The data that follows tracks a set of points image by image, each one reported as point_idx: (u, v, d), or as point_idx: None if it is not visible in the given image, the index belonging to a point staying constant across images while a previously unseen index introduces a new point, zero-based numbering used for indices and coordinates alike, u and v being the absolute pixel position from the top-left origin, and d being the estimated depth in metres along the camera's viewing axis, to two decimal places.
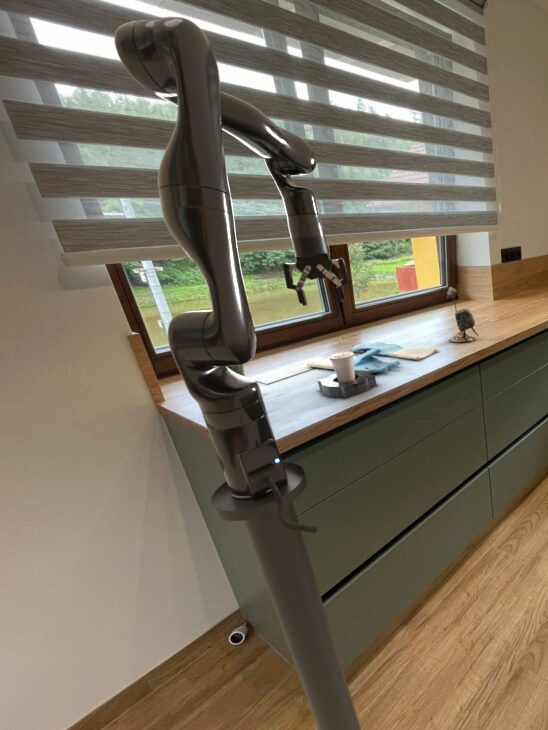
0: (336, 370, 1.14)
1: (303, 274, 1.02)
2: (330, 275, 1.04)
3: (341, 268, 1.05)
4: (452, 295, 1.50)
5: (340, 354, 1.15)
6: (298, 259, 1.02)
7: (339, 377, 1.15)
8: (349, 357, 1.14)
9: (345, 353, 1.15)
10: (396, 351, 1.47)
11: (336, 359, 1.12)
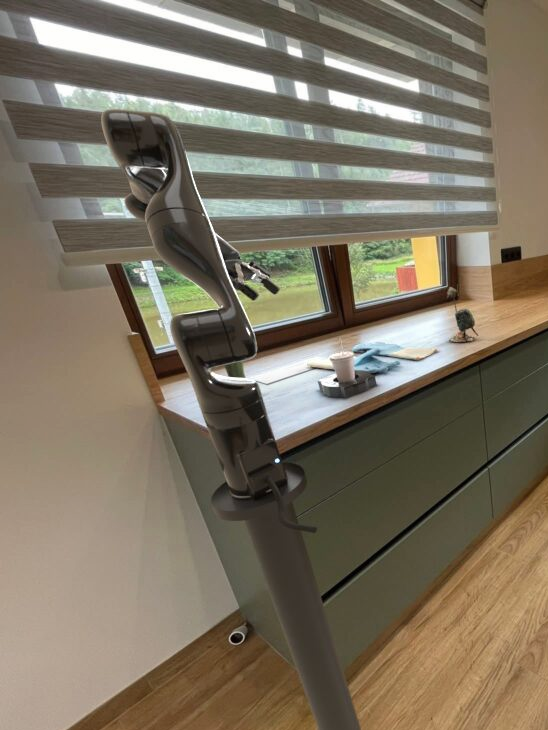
0: (336, 370, 1.14)
1: (237, 270, 1.04)
2: (256, 270, 1.10)
3: (258, 266, 1.12)
4: (452, 295, 1.50)
5: (340, 354, 1.15)
6: None
7: (339, 377, 1.15)
8: (349, 357, 1.14)
9: (345, 353, 1.15)
10: (396, 351, 1.47)
11: (336, 359, 1.12)
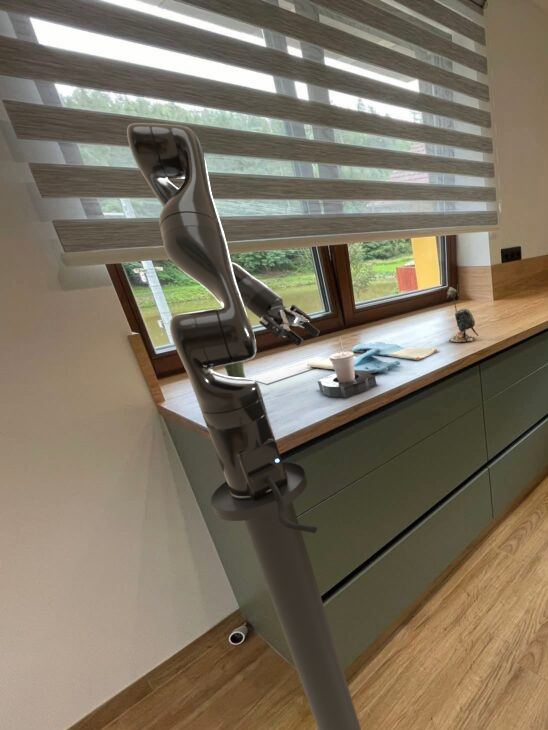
0: (336, 370, 1.14)
1: (283, 317, 1.09)
2: (298, 314, 1.15)
3: (298, 310, 1.18)
4: (452, 295, 1.50)
5: (340, 354, 1.15)
6: (269, 310, 1.09)
7: (339, 377, 1.15)
8: (349, 357, 1.14)
9: (345, 353, 1.15)
10: (396, 351, 1.47)
11: (336, 359, 1.12)
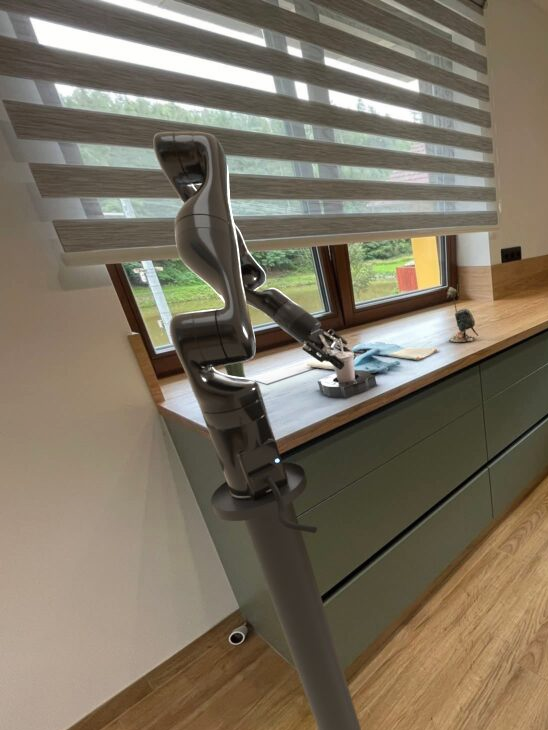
0: (336, 370, 1.14)
1: (322, 341, 1.11)
2: (336, 338, 1.16)
3: (336, 334, 1.19)
4: (452, 295, 1.50)
5: (340, 354, 1.15)
6: (309, 335, 1.10)
7: (339, 377, 1.15)
8: (349, 357, 1.14)
9: (345, 353, 1.15)
10: (396, 351, 1.47)
11: None
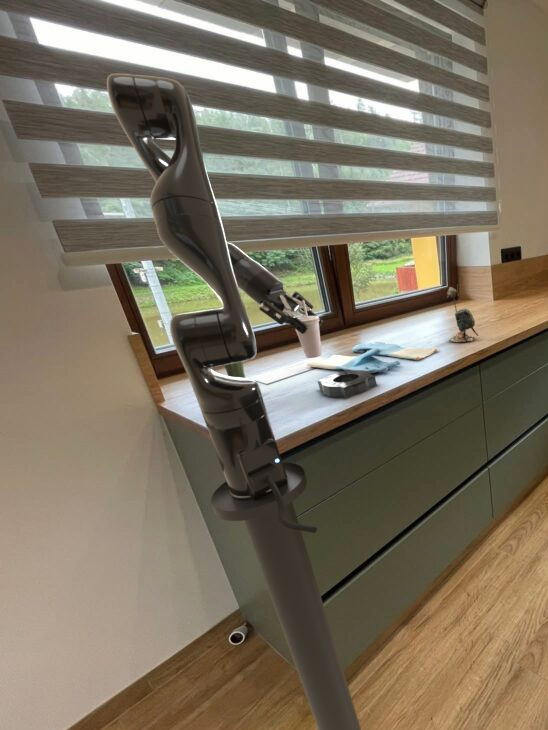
0: (299, 335, 1.04)
1: (283, 302, 1.01)
2: (299, 301, 1.06)
3: (301, 297, 1.09)
4: (452, 295, 1.50)
5: (304, 317, 1.05)
6: (268, 295, 1.00)
7: (302, 343, 1.05)
8: (313, 320, 1.04)
9: (309, 317, 1.05)
10: (396, 351, 1.47)
11: None
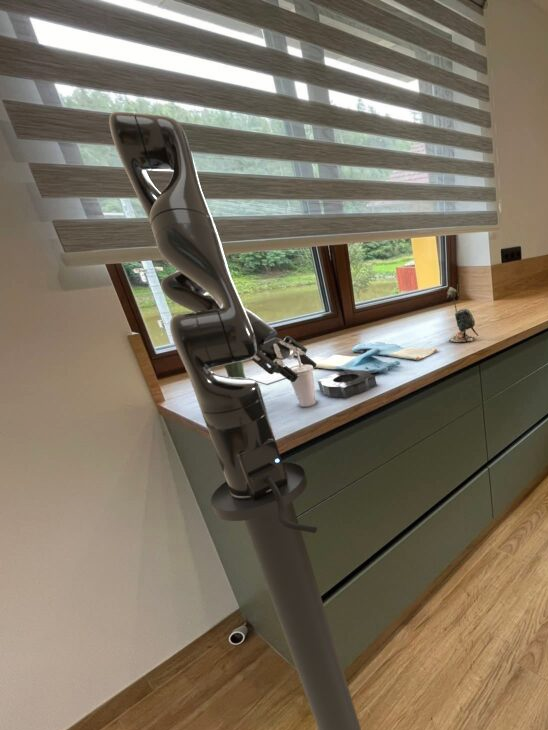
0: (293, 385, 1.05)
1: (276, 352, 1.02)
2: (293, 347, 1.07)
3: (294, 342, 1.10)
4: (452, 295, 1.50)
5: (298, 367, 1.06)
6: (261, 345, 1.01)
7: (297, 392, 1.06)
8: (307, 371, 1.05)
9: (303, 366, 1.06)
10: (396, 351, 1.47)
11: None
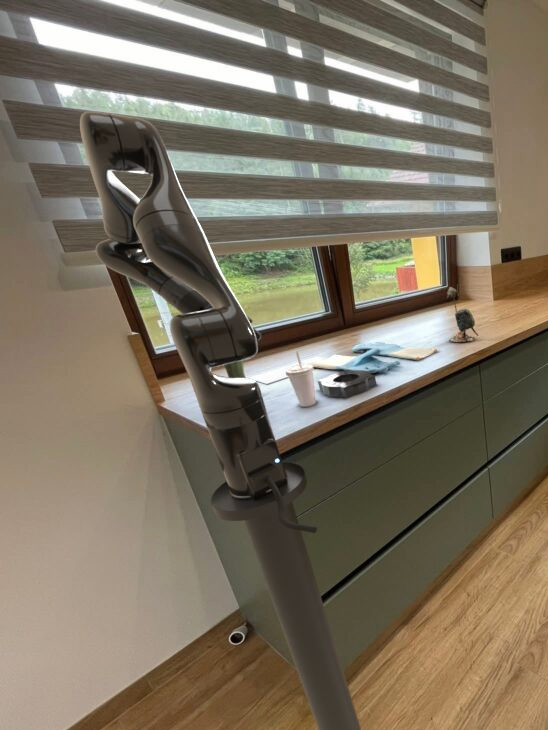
0: (293, 385, 1.05)
1: None
2: None
3: None
4: (452, 295, 1.50)
5: (298, 367, 1.06)
6: None
7: (297, 392, 1.06)
8: (307, 371, 1.05)
9: (303, 366, 1.06)
10: (396, 351, 1.47)
11: (292, 373, 1.03)
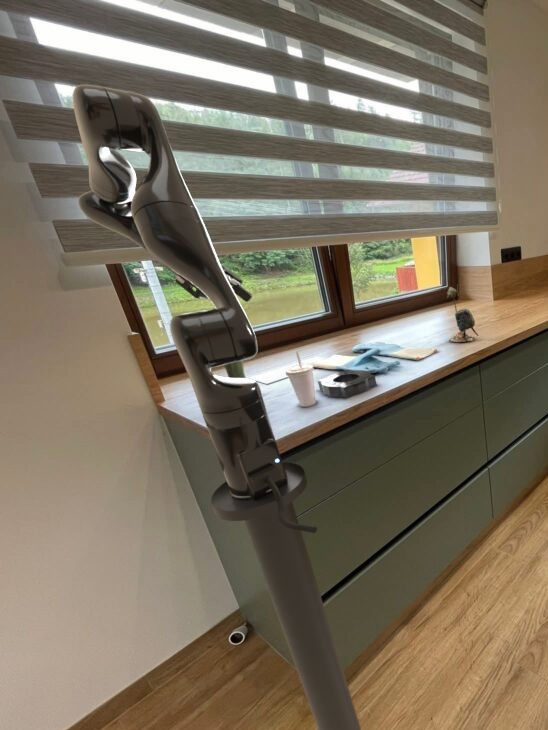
0: (293, 385, 1.05)
1: None
2: (226, 275, 1.02)
3: (228, 272, 1.05)
4: (452, 295, 1.50)
5: (298, 367, 1.06)
6: None
7: (297, 392, 1.06)
8: (307, 371, 1.05)
9: (303, 366, 1.06)
10: (396, 351, 1.47)
11: (292, 373, 1.03)
